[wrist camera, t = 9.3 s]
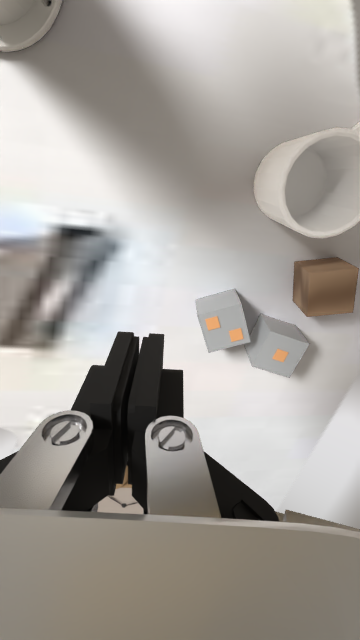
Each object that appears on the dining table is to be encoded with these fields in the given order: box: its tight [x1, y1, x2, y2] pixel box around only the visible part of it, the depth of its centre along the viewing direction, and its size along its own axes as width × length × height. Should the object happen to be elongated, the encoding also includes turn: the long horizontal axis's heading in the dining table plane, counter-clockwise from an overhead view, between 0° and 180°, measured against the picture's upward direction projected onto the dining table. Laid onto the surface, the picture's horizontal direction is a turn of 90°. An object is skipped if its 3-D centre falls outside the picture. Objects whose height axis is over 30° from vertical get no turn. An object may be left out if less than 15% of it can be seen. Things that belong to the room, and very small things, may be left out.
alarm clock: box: [97, 465, 143, 514], centre depth 52 cm, size 11×5×15 cm
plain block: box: [293, 257, 359, 317], centre depth 36 cm, size 5×5×5 cm
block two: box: [196, 289, 251, 353], centre depth 38 cm, size 5×5×5 cm
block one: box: [245, 314, 309, 378], centre depth 39 cm, size 5×5×5 cm
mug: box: [253, 122, 360, 238], centre depth 29 cm, size 8×12×10 cm
